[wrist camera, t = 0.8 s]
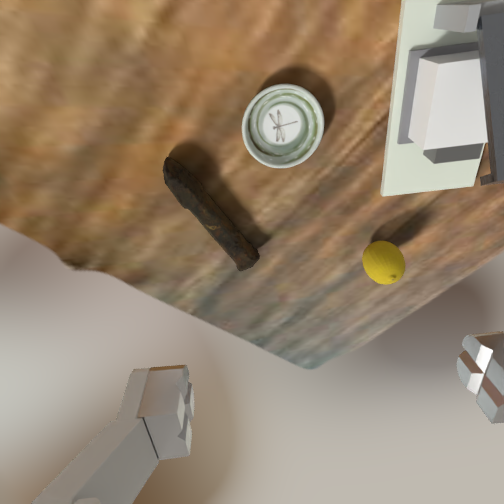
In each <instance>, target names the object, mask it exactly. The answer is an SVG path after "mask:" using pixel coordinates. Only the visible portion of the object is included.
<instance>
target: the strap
mask: <svg viewBox="0 0 504 504" xmlns="http://www.w3.org/2000/svg"><path fill="white" fill-rule="evenodd" d="M476 29H477V39H478V49H479V59H480V69H481V79H482V89H483V99H484V109H485V119H486V129H487V139H488V149H489V159H490V169H491V174H488V175H485V176H482V177H480V181H481V186H482V185H491V184H499V183H504V13H497V14H490V15H483V16H481V17H480V18H479V19H478V22H477V27H476Z"/></svg>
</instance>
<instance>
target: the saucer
mask: <svg viewBox="0 0 504 504" xmlns="http://www.w3.org/2000/svg"><path fill="white" fill-rule="evenodd" d="M323 132H324V115H323V111H322V108H321V106H320V104H319V102H318V101H317V99H316V98H315V97H314V96H313V95H312V94H311V93H310V92H309V91H308V90H306V89H304V88H302V87H300V86H297V85H293V84H277V85H273V86H270V87H268V88H266V89H264V90H263V91H261V92H260V93H258V94H257V95H256V96H255V97H254V98H253V99H252V100H251V102H250V103H249V105H248V107H247V108H246V111H245V113H244V116H243V120H242V136H243V140H244V143H245V146H246V148H247V149H248V151H249V152H250V154H251V155H252V156H253V157H254V158H255V159H256V160H257V161H259V162H260V163H262V164H264V165H266V166H269V167H273V168H288V167H292V166H295V165H298V164H300V163H302V162H303V161H305V160H306V159H307V158H309V157H310V156H311V155H312V154H313V152H314V151H315V150H316V149H317V147H318V145H319V143H320V141H321V139H322V136H323Z"/></svg>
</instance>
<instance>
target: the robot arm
mask: <svg viewBox="0 0 504 504" xmlns="http://www.w3.org/2000/svg"><path fill="white" fill-rule="evenodd" d="M462 346H463V347H464V349H465V351H464V352H462V353H461V354H460V355H459V356H458V360H457V370H458V375H459V377H460V379H461V381H462V383H463V384H464V386H465V387H466V388H467V389H468V390H470V391H471V392H473V393H475V394H476V395H477V400H476V402H477V404H478V405H479V407H480V408H481V409H482V411H483V412H484V414H485V415H486V416H487V417H488V419H489V420H490V422H491V423H503V422H504V331H502V332H500V331H498V332H490V333H481V334H472V335H467V336H466V337H465V338H464V340H463V343H462ZM188 379H189V371H188V368H187V365H177V366H165V367H153V368H143V369H134V370H133V371H132V373H131V374H130V377H129V380H128V383H127V387H126V390H125V393H124V396H123V400H122V403H121V406H120V409H119V412H118V415H117V419H116V421H111V422H110V423H109V424H108V425H107V426H106V427H105V428H104V429H103V430H102V431H101V432H100V433H99V434H98V435H97V436H96V437H95V438H94V439H93V440H92V441H91V442H90V443H89V444H88V445H87V446H86V447H85V448H84V449H83V450H82V451H81V452H80V453H79V454H78V455H77V457H75V458H74V459H73V460H72V461H71V462H70V463H69V464H68V466H67V467H66V468H65V469H64V470H63V471H62V472H61V473H60V474H59V475H58V476H57V477H56V478H55V479H54V480H53V481H52V482H51V483H50V484H49V485H48V486H47V487H46V488H45V489H44V490H43V491H42V492H41V493H40V494H39V495H38V496H37V498H35V499H34V501H32V503H31V504H132V502H133V501H134V499H135V498H136V496H137V495H138V493H139V492H140V490H141V489H142V487H143V486H144V484H145V483H146V481H147V480H148V478H149V476H150V475H151V473H152V472H153V470H154V469H155V467H156V466H157V464H158V463H159V461H158V460H163V459H170V458H178V457H184V456H190V447H191V438H192V431H191V427H190V421H191V420H192V419H193V416H194V393H193V388H192V384H191V383H189V382H188Z"/></svg>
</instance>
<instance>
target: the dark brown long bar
mask: <svg viewBox="0 0 504 504" xmlns="http://www.w3.org/2000/svg"><path fill="white" fill-rule="evenodd" d="M163 173H164V180H165V184H166V185H167V186H168V188H169V189H170V191H171V192H172V193H173V194H174V196H175V197H176V199H177V200H178V202H179V203H180V204H181V205H182V206H183V207H184V208H186V209H189V210H190V211H191V212H192V213H193V214H194V215H195V217H196V218H197V219H198V220H199V221H200V223H201V224H202V225H203V226H204V227H205V229H206V230H207V231H208V232H209V233H210V235H211V236H212V237H213V238H214V239H215V240H216V241H217V242H218V244H219V245H220V246H221V247H222V248H223V249H224V251H225V252H226V253H227V254H228V255H229V256H230V257H231V258H232V259H233V260H234V262H235V263H236V264H237V269H238V270H239V271H243V270H246V269H248V268H251V267H252V266H253V265H254V264H255V263H256V262H257V261H258V260H259V258H260V255H259V253H258V250H257V249H253V247H252V245H251V244H250V242H247V241H246V240H245V238H244V237H243V235H242V234H241V233H240V232H239V231H238V230H237V229H236V228H235V227H234V226H233V224H232V223H231V221H230V220H229V219H228V218H227V217H226V216H225V215H224V213H223V212H222V211H221V210H220V209H219V207H218V206H217V205H216V204H215V203H214V201H213V200H212V199H211V198H210V196H209V195H208V194H207V193H206V192H205V190H204V189H203V187H202V184H201V183H200V182H199V181H198V180H197V179H196V178H195V177H194V176H193V175H192V174H191V173H190V172H188V171H187V170H186V169H185V168H184V167H182V166H181V165H180V164H178V163H177V162H175V161H174V160H172V159H171V158H169V157H167V158H166V159H165V161H164V166H163Z"/></svg>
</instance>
